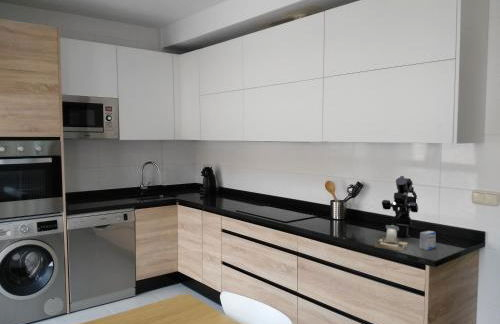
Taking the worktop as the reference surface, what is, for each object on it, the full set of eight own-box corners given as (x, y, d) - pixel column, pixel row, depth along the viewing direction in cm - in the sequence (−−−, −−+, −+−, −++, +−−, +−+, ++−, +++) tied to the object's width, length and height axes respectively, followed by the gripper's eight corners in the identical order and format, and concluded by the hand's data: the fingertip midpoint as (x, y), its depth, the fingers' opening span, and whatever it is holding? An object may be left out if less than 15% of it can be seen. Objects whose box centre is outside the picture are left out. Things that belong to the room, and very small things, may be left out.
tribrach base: (381, 242, 214) (381, 233, 214) (407, 246, 206) (408, 236, 206) (374, 246, 204) (375, 237, 204) (402, 251, 197) (402, 241, 196)
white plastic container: (386, 241, 208) (387, 225, 210) (397, 242, 204) (399, 226, 206) (383, 239, 204) (385, 223, 206) (395, 241, 200) (397, 225, 202)
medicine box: (427, 250, 199) (428, 233, 198) (419, 248, 202) (419, 232, 202) (435, 248, 203) (436, 231, 203) (427, 246, 207) (427, 230, 207)
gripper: (383, 185, 222) (377, 207, 214) (417, 188, 212) (413, 211, 203) (386, 197, 229) (380, 219, 221) (420, 200, 219) (415, 223, 210)
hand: (396, 218), depth 214 cm, fingers closed
